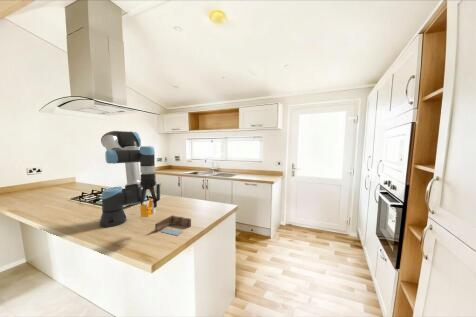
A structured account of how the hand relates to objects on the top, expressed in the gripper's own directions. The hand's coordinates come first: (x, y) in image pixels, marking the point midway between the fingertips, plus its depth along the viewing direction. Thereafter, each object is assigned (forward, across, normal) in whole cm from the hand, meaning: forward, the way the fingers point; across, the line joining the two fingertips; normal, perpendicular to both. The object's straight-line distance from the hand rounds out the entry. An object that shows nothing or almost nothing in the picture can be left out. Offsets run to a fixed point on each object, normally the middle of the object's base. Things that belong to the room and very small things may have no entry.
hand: (149, 213), depth 108 cm
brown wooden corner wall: (+13, +12, +7) cm, 19 cm away
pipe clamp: (+1, 0, +1) cm, 1 cm away
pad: (+13, +12, +3) cm, 18 cm away
